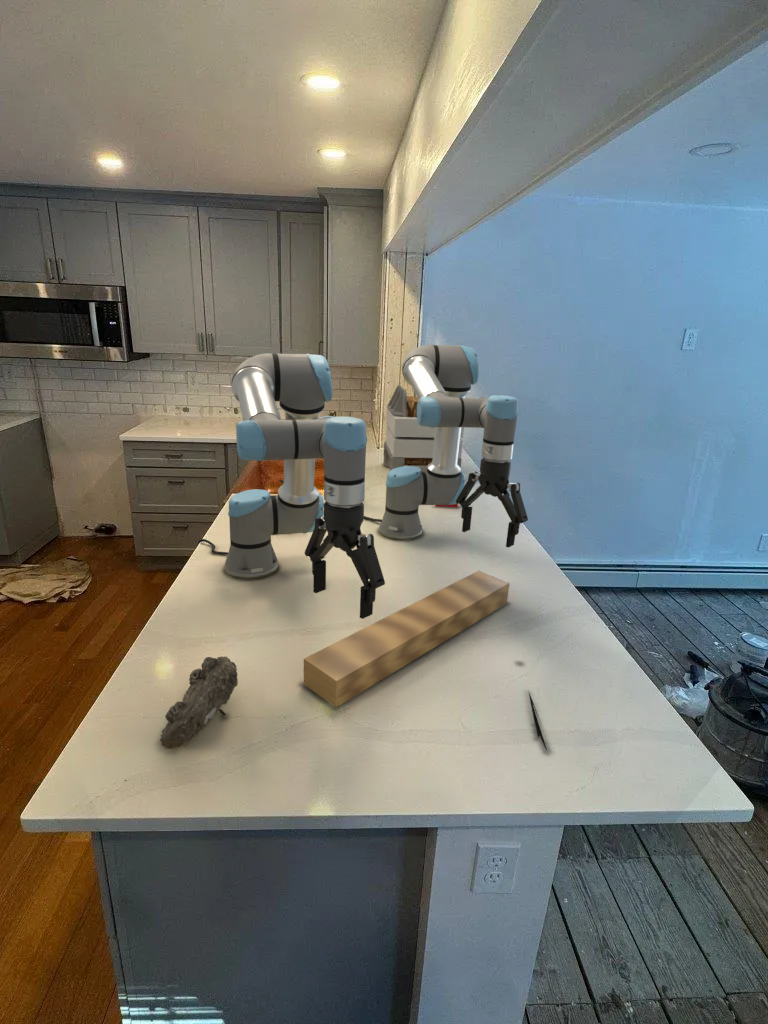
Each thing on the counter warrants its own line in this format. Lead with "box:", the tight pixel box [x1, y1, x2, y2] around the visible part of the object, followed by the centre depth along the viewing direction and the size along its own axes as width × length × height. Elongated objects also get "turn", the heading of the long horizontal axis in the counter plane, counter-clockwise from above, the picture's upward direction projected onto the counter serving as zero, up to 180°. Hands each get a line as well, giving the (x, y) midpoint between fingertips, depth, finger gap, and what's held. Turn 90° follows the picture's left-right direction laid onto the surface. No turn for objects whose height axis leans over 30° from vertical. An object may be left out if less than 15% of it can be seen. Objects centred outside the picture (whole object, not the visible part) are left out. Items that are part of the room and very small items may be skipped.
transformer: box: [383, 384, 465, 471], centre depth 268 cm, size 34×33×41 cm
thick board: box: [303, 570, 510, 708], centre depth 136 cm, size 63×10×6 cm, turn 136°
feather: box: [528, 689, 548, 751], centre depth 116 cm, size 2×28×2 cm
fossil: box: [160, 656, 239, 749], centre depth 107 cm, size 22×10×15 cm
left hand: (342, 603), depth 113 cm, fingers open, 13 cm apart
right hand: (487, 538), depth 148 cm, fingers open, 13 cm apart
